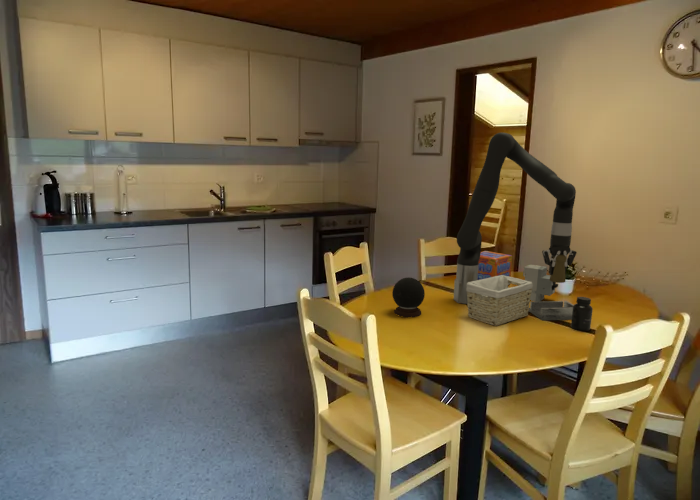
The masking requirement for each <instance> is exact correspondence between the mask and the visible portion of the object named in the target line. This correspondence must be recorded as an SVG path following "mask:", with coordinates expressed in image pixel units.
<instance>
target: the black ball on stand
mask: <svg viewBox="0 0 700 500" xmlns="http://www.w3.org/2000/svg"><path fill="white" fill-rule="evenodd" d="M391 295H392V299H393V301H394V304H396V305H397V307H396V308H395V309H394V310H393V313H395V314H397V315H399V316H398V317H401V316H403V317H402V318H408V317H412V318H417V317H420V316H421V315H422V310H421V309H420V308H419V307H420V306H421V305H422V303H423V302H424V300H425V295H426V294H425V288H424V286H423V284H422V283H421V282H420V281H419V280H418V279H416V278H415V277H404V278H403V277H402V278H401V279H399V280H397V282H396V283H394V286H393V289H392V294H391ZM395 314H394V315H395ZM397 315H396V316H397Z"/></svg>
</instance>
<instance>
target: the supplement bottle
mask: <svg viewBox="0 0 700 500" xmlns="http://www.w3.org/2000/svg"><path fill="white" fill-rule="evenodd" d="M575 302H576V303H574V304H573V305H574V306H573V312H572V320H571V322H570V327H571V329H573V330H574V331H575V330H576V331H579V332H580V331H581V332H588V331H590V330H591V325H592V319H593V318H592V317H593V312H594V311H593V310H594V309H593V306H592V305H591V303H592V300H591V298H590V297H587V296H577V297H576V301H575Z"/></svg>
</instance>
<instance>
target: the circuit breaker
mask: <svg viewBox="0 0 700 500" xmlns="http://www.w3.org/2000/svg"><path fill="white" fill-rule="evenodd" d="M523 268H524V269H523V272H522V277H524V280H525V281H530V282H532V285H533V287H532V293H531V297H530V300H531V301H530V302H537V301H542V300H543V301H544V299H545V296H548V297H549V296H552V295H553V294H555V293H556V289H557V288H559V284H558V283H557V282H552V281H550V276H551V275H550V274H548V273H547V272H548V266H542V265H536V264H528V265H525V266H524V267H523Z"/></svg>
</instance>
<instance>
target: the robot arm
mask: <svg viewBox="0 0 700 500" xmlns="http://www.w3.org/2000/svg"><path fill="white" fill-rule="evenodd" d="M485 156H486V157H485V160H484V164H483V166H482V169H481V171H480V173H479V176H478V179H477V181H476V184H475V187H474V190H473V193H472V196H471V199H470V201H469V205H468V208H467V213H466V216H465V218H464V220H463V223H462V225H461V227H460V229H459V231H458V233H457V234H456V235H457V236H456V244H457V246H458V247H459V248H460V250H459V254H458V256H457V259H456V275H455V276H456V278H455V279H454V285H453V287H454V289H453V301H455V302H456V303H458V304H464V305H465V304H466V305H468V302H467V298H468V297H467V291H466V288H467V283H468V282H472V281H477V280H478V264H479V259H480V254H481V252H482V238H483V237H482V233H481V232H480V229H481V227H482V223H483V221H484V219H485V218H486V216H487V214H488V213H489V211H490V210H491V207H492V206H493V204H494V202H495V199H496V196H497V193H498V190H499V186H500V180H501V179H500V177H501V172H502V167H503V165H504V163H505V160H506V158H508V159H509V160H511V161H513V162H514V163H515V164H517V165H518V166H519V167H520V168H521V169H522V170H523V171H524V173H526V175H528V176H529V177H530V178H531V179H532V180H533V181H535V182H536V183H537V184H538V185H539V186H541V187H543V188H544V189H545V190H546V191H547V192H548V193H549V194H550V195H551V196H552V197H553V198H555V199H556V202H555V207H554V211H553V216H552V224H551V230H550V242H549V245H550V246H549V247H548V249H547V250H545V249H543V250H542V252H541V253H542V257H543V260H544V264H545V265H548V275H553V271H554V266H555V261H556V257H557V256H558V255H565V256H566V258H567V260H566V262H565V275H566V274H567V267H568V266H571V265H572V264H573V262H574V260H575V258H576V256H577V254H578V253H577V251H576V250H572V249H571V248H570V247H571V241H572V232H573V224H572V223H573V216H574V215H573V213H574V212H573V211H574V206H575V201H576V200H575V199H576V193H577V191H576V187H575V186H574V185H573V184H572V183H570V182H566V181H565V180H563V178H560V176H558V174H557V173H556V172H555V171H554V170H553V169H551V168H550V167H548V166H547V165H545V164H544V163H543V162H542V161H540V160H539V159H537V158H536V157H535V156H533V155H532V154H530V153H529V152H528V151H527V150H526V149H525V148H524V147H522V145H521V144H520V143H519V142H518V140H516V139H515V138H514V136H513V134H511V133H507V132H498V133H495V134H494V135H493V136H492V137H491V139H490V141H489V144H488V147H487V153H486V155H485ZM553 257H555V258H554V259H553Z"/></svg>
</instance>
